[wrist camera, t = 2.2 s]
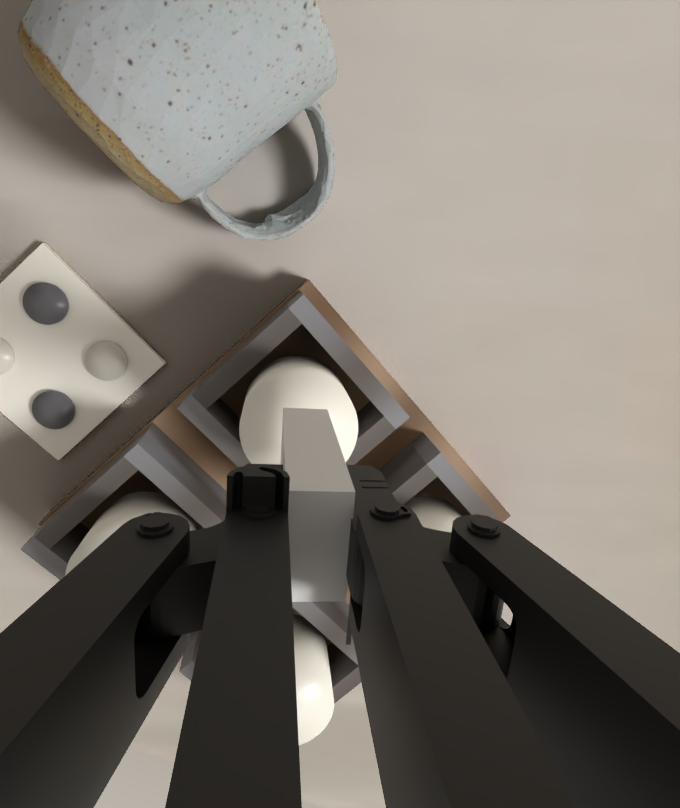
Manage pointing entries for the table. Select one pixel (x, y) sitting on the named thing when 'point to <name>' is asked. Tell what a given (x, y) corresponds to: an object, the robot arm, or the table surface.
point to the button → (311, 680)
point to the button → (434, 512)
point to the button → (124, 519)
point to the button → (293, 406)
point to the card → (64, 353)
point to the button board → (222, 452)
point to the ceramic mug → (188, 89)
